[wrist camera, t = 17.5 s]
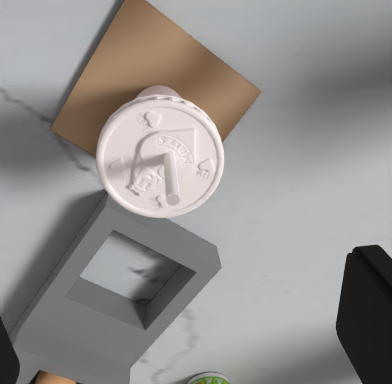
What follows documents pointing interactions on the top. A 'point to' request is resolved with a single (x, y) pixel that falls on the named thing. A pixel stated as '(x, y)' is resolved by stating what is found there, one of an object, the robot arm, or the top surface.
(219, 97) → the mat
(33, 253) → the top surface
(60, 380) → the tan mushroom
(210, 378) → the supplement bottle
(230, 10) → the top surface
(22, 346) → the grey holder
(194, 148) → the smoothie
